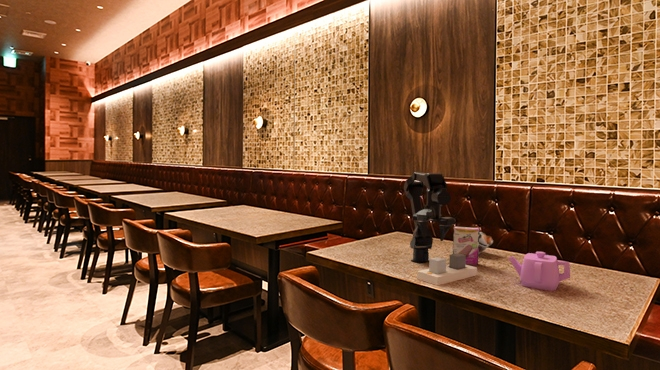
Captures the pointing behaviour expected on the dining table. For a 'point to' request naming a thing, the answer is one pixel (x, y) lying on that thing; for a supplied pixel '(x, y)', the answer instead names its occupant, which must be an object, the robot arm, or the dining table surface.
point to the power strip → (446, 275)
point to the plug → (437, 265)
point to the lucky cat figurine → (484, 242)
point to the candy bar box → (466, 243)
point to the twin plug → (457, 261)
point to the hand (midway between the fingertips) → (432, 239)
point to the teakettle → (541, 271)
